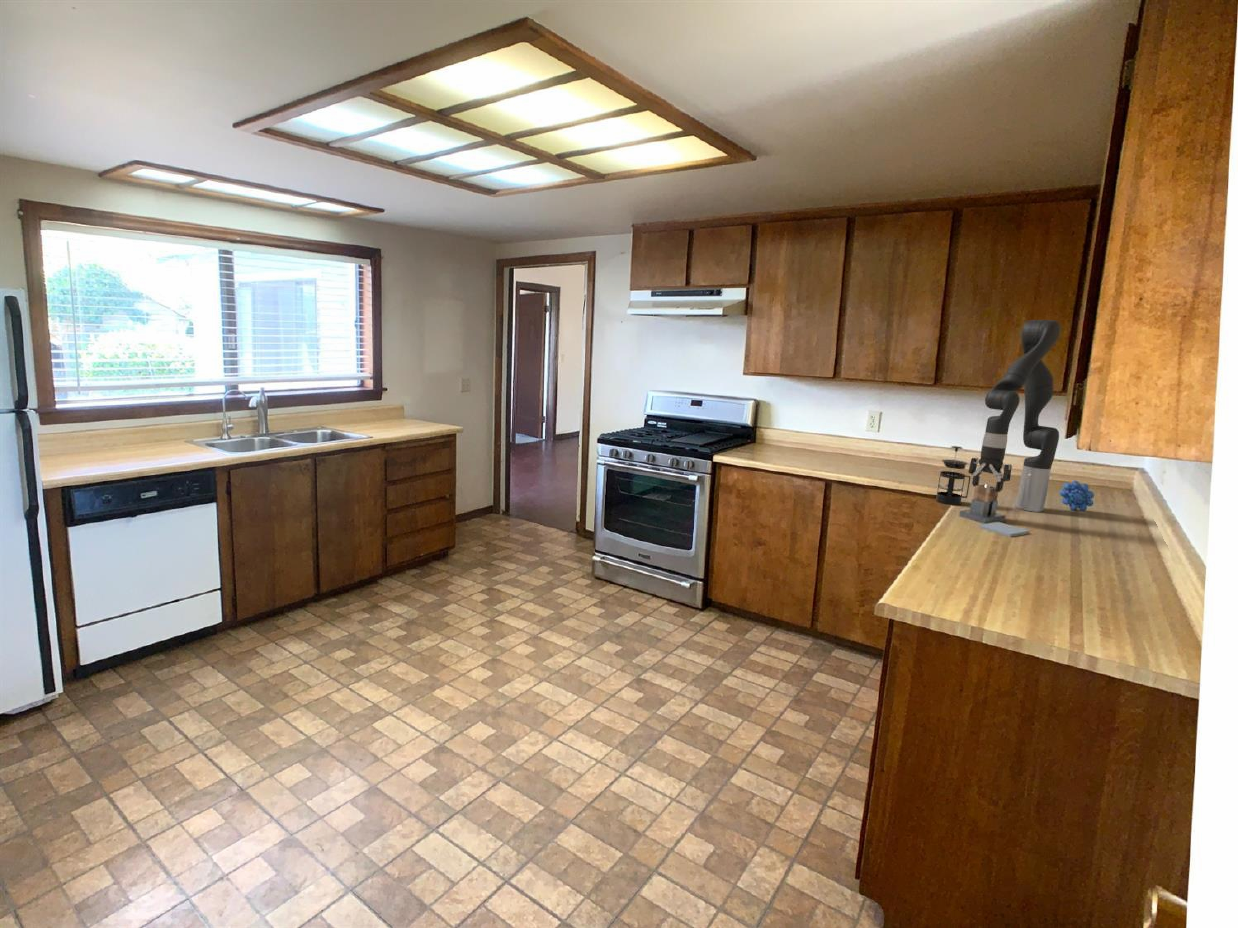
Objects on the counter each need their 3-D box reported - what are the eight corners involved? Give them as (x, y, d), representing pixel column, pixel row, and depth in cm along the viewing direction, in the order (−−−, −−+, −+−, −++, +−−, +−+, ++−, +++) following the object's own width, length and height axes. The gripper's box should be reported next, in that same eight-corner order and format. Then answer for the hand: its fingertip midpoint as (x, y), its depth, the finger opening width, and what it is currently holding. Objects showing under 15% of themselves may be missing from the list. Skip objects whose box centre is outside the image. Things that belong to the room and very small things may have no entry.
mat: (997, 524, 229) (998, 521, 229) (1028, 533, 219) (1029, 530, 219) (978, 527, 224) (979, 524, 224) (1009, 536, 214) (1010, 534, 214)
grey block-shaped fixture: (978, 513, 244) (984, 480, 241) (1004, 520, 235) (1010, 486, 232) (959, 516, 238) (964, 482, 235) (984, 523, 229) (990, 488, 227)
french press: (933, 502, 257) (942, 446, 252) (933, 497, 265) (941, 443, 260) (966, 507, 252) (975, 450, 247) (965, 502, 260) (974, 446, 255)
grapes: (1057, 510, 255) (1063, 480, 253) (1055, 506, 261) (1061, 477, 259) (1093, 515, 250) (1099, 485, 247) (1090, 511, 256) (1096, 482, 253)
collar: (982, 497, 239) (984, 484, 238) (996, 501, 234) (998, 488, 233) (973, 498, 236) (975, 485, 235) (987, 502, 231) (989, 489, 230)
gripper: (1020, 448, 227) (1011, 492, 230) (981, 441, 239) (974, 484, 242) (1007, 449, 223) (999, 494, 226) (969, 442, 235) (961, 485, 239)
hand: (986, 488), depth 234 cm, fingers open, 8 cm apart
